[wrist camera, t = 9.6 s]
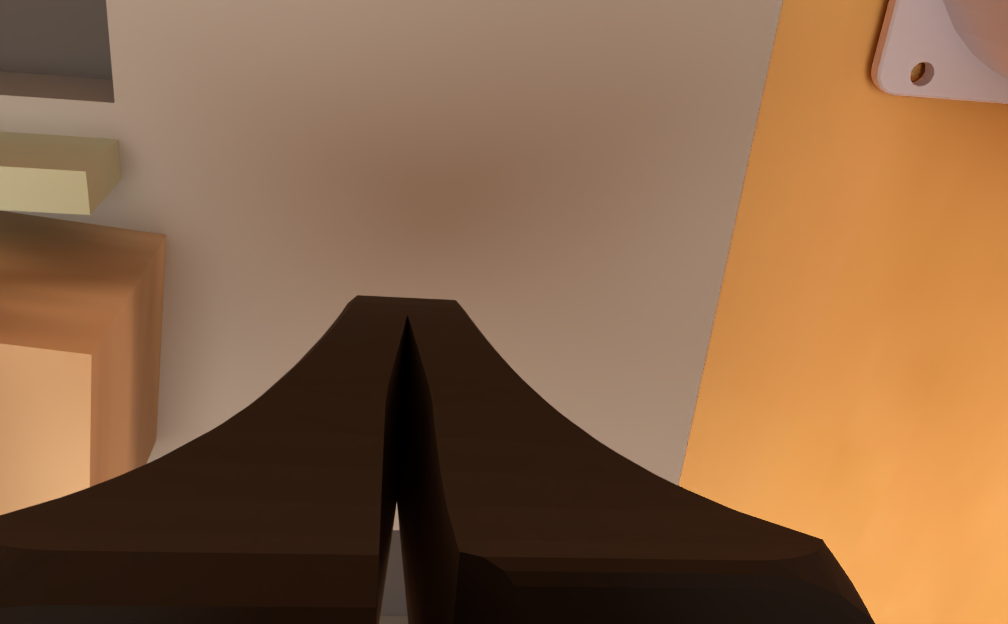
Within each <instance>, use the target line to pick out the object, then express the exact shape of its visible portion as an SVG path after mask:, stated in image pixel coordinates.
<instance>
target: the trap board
mask: <svg viewBox="0 0 1008 624" xmlns="http://www.w3.org/2000/svg"><path fill="white" fill-rule="evenodd" d="M782 3H783V0H0V211H7V212H13V213H20V214H27V215H34V216H41V217H48V218H54V219H61V220H68V221H75V222H82V223H89V224H95V225H102V226H109V227H116V228H123V229H130V230H136V231H143V232H150V233H157V234H164V235H166V255H165V276H164V296H163V316H162V336H161V356H160V376H159V396H158V417H157V437H156V442H155V445H154V447H153V449H152V452H151V454H150V456H149V459H148V461H147V463H150V462H152V461H154V460H156V459H158V458H160V457H162V456H164V455H166V454H168V453H170V452H171V451H173V450H175V449H177V448H179V447H181V446H183V445H184V444H186V443H188V442H190V441H192V440H194V439H196V438H197V437H199V436H201V435H203V434H205V433H207V432H209V431H211V430H212V429H214V428H216V427H217V426H219V425H220V424H222V423H224V422H225V421H227V420H228V419H230V418H231V417H233V416H234V415H235V414H237V413H238V412H240V411H241V410H243V409H244V408H246V407H247V406H249V405H250V404H251V403H252V402H254V401H255V400H256V399H258V398H259V397H260V396H261V395H262V394H264V393H265V392H266V391H267V390H268V389H269V388H270V387H271V386H273V385H274V384H275V383H276V382H277V381H278V380H279V379H280V378H281V377H283V376H284V375H285V374H286V373H287V372H288V371H289V370H290V369H291V368H293V367H294V366H295V365H296V364H297V363H298V362H299V361H300V360H301V359H302V357H303V356H304V355H305V354H306V353H307V352H308V351H309V350H310V349H311V348H312V347H313V346H314V345H315V344H316V343H317V341H318V340H319V339H320V338H321V337H322V336H323V335H324V334H325V332H326V331H327V330H328V329H329V328H330V326H331V325H332V324H333V323H334V321H335V320H336V319H337V318H338V316H339V315H340V314H341V312H342V311H343V309H344V308H345V307H346V305H347V303H348V302H350V301H351V300H352V299H353V298H354V297H356V296H357V295H363V296H384V297H405V298H426V299H446V300H456V301H457V302H458V303H459V304H460V305H461V307H462V308H463V309H464V310H465V311H466V313H467V314H468V315H469V317H470V318H471V320H472V321H473V322H474V324H475V325H476V326H477V327H478V329H479V330H480V331H481V333H482V334H483V335H484V336H485V338H486V339H487V340H488V341H489V343H490V344H491V345H492V346H493V347H494V349H495V350H496V351H497V352H498V353H499V354H500V356H501V357H502V358H503V359H504V360H505V361H506V362H507V363H508V364H509V366H510V367H511V368H512V369H513V370H514V371H515V372H516V373H517V374H518V375H519V376H520V377H521V378H522V379H523V380H524V381H525V382H526V383H527V384H528V385H529V386H530V387H531V388H532V389H534V390H535V391H536V392H537V393H538V394H539V395H540V396H541V397H542V398H543V399H544V400H545V401H547V402H548V403H549V404H550V405H551V406H552V407H554V408H555V409H556V410H557V411H559V412H560V413H561V414H562V415H563V416H565V417H566V418H568V419H569V420H570V421H572V422H573V423H574V424H576V425H577V426H578V427H580V428H581V429H583V430H584V431H585V432H587V433H588V434H589V435H591V436H592V437H594V438H595V439H596V440H598V441H599V442H601V443H603V444H604V445H606V446H607V447H609V448H610V449H612V450H614V451H615V452H617V453H618V454H620V455H622V456H624V457H625V458H627V459H629V460H631V461H632V462H634V463H636V464H638V465H640V466H641V467H643V468H645V469H647V470H648V471H650V472H652V473H654V474H656V475H657V476H659V477H662V478H664V479H666V480H668V481H670V482H672V483H674V484H676V485H679V480H680V476H681V471H682V466H683V462H684V457H685V453H686V448H687V443H688V439H689V434H690V429H691V425H692V420H693V415H694V411H695V406H696V402H697V397H698V392H699V388H700V383H701V378H702V374H703V369H704V364H705V360H706V355H707V351H708V346H709V341H710V337H711V332H712V327H713V323H714V318H715V314H716V309H717V304H718V300H719V295H720V290H721V286H722V281H723V276H724V272H725V267H726V263H727V258H728V253H729V249H730V244H731V239H732V235H733V230H734V225H735V221H736V216H737V212H738V207H739V202H740V198H741V193H742V188H743V184H744V179H745V174H746V170H747V165H748V161H749V156H750V151H751V147H752V142H753V137H754V133H755V128H756V124H757V119H758V114H759V110H760V105H761V100H762V96H763V91H764V86H765V82H766V77H767V73H768V68H769V63H770V59H771V54H772V49H773V45H774V40H775V35H776V31H777V26H778V22H779V17H780V12H781V8H782ZM147 463H146V464H147ZM379 624H408V616H407V605H406V595H405V584H404V574H403V563H402V553H401V542H400V531H399V520H398V509H397V505H396V512H395V519H394V525H393V532H392V539H391V546H390V553H389V560H388V567H387V573H386V580H385V587H384V594H383V601H382V607H381V614H380V621H379Z"/></svg>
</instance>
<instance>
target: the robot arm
mask: <svg viewBox="0 0 1008 624" xmlns="http://www.w3.org/2000/svg"><path fill="white" fill-rule="evenodd" d="M921 62H924V64H925V72H924V74H923V76H922V77H921V78H920V79H919V80H917V81H916V82H912V81H911V80H910V78H911V72H912V70H913V68H914V67H915V66H916V65H917V64H919V63H921ZM871 78H872V81H873V84H874V85H875V86H876V87H877V88H878V89H879V90H881V91H883V92H885V93H888V94H892V95H899V96H912V97H925V98H937V99H950V100H963V101H975V102H988V103H1001V104H1008V0H889V3H888V7H887V11H886V14H885V18H884V22H883V26H882V30H881V33H880V37H879V41H878V45H877V49H876V52H875V56H874V60H873V64H872V69H871ZM396 505H397V509H398V520H399V531H400V542H401V553H402V563H403V574H404V584H405V595H406V605H407V616H408V624H875V623H874V621H873V619H872V618H871V616H870V614H869V612H868V610H867V608H866V606H865V604H864V603H863V601H862V599H861V597H860V596H859V594H858V592H857V590H856V589H855V587H854V585H853V583H852V582H851V580H850V579H849V577H848V576H847V574H846V573H845V571H844V570H843V569H842V567H841V566H840V564H839V563H838V561H837V560H836V558H835V557H834V555H833V554H832V553H831V551H830V550H829V548H828V547H827V546H826V544H825V543H824V541H823V540H822V539H819V538H816V537H813V536H810V535H807V534H804V533H801V532H798V531H795V530H792V529H789V528H786V527H783V526H780V525H777V524H774V523H771V522H768V521H765V520H762V519H759V518H756V517H753V516H750V515H747V514H744V513H741V512H738V511H736V510H733V509H730V508H728V507H726V506H723V505H721V504H719V503H716V502H714V501H712V500H709V499H707V498H705V497H702V496H700V495H698V494H695V493H693V492H691V491H688V490H686V489H684V488H682V487H680V486H678V485H676V484H674V483H672V482H670V481H668V480H666V479H664V478H662V477H659V476H657V475H656V474H654V473H652V472H650V471H648V470H647V469H645V468H643V467H641V466H640V465H638V464H636V463H634V462H632V461H631V460H629V459H627V458H625V457H624V456H622V455H620V454H618V453H617V452H615V451H614V450H612V449H610V448H609V447H607V446H606V445H604V444H603V443H601V442H599V441H598V440H596V439H595V438H594V437H592V436H591V435H589V434H588V433H587V432H585V431H584V430H583V429H581V428H580V427H578V426H577V425H576V424H574V423H573V422H572V421H570V420H569V419H568V418H566V417H565V416H563V415H562V414H561V413H560V412H559V411H557V410H556V409H555V408H554V407H552V406H551V405H550V404H549V403H548V402H547V401H545V400H544V399H543V398H542V397H541V396H540V395H539V394H538V393H537V392H536V391H535V390H534V389H532V388H531V387H530V386H529V385H528V384H527V383H526V382H525V381H524V380H523V379H522V378H521V377H520V376H519V375H518V374H517V373H516V372H515V371H514V370H513V369H512V368H511V367H510V366H509V364H508V363H507V362H506V361H505V360H504V359H503V358H502V357H501V356H500V354H499V353H498V352H497V351H496V350H495V349H494V347H493V346H492V345H491V344H490V343H489V341H488V340H487V339H486V338H485V336H484V335H483V334H482V333H481V331H480V330H479V329H478V327H477V326H476V325H475V324H474V322H473V321H472V320H471V318H470V317H469V315H468V314H467V313H466V311H465V310H464V309H463V308H462V307H461V305H460V304H459V303H458V302H457V301H456V300H446V299H426V298H405V297H384V296H363V295H357V296H356V297H354V298H353V299H352V300H351V301H350V302H348V303H347V305H346V307H345V308H344V309H343V311H342V312H341V314H340V315H339V316H338V318H337V319H336V320H335V321H334V323H333V324H332V325H331V326H330V328H329V329H328V330H327V331H326V332H325V334H324V335H323V336H322V337H321V338H320V339H319V340H318V341H317V343H316V344H315V345H314V346H313V347H312V348H311V349H310V350H309V351H308V352H307V353H306V354H305V355H304V356H303V357H302V359H301V360H300V361H299V362H298V363H297V364H296V365H295V366H294V367H293V368H291V369H290V370H289V371H288V372H287V373H286V374H285V375H284V376H283V377H281V378H280V379H279V380H278V381H277V382H276V383H275V384H274V385H273V386H271V387H270V388H269V389H268V390H267V391H266V392H265V393H264V394H262V395H261V396H260V397H259V398H258V399H256V400H255V401H254V402H252V403H251V404H250V405H249V406H247V407H246V408H244V409H243V410H241V411H240V412H238V413H237V414H235V415H234V416H233V417H231V418H230V419H228V420H227V421H225V422H224V423H222V424H220V425H219V426H217V427H216V428H214V429H212V430H211V431H209V432H207V433H205V434H203V435H201V436H199V437H197V438H196V439H194V440H192V441H190V442H188V443H186V444H184V445H183V446H181V447H179V448H177V449H175V450H173V451H171V452H170V453H168V454H166V455H164V456H162V457H160V458H158V459H156V460H154V461H152V462H150V463H147V464H145V465H143V466H141V467H138V468H136V469H134V470H131V471H129V472H127V473H125V474H122V475H120V476H117V477H115V478H112V479H110V480H107V481H104V482H102V483H99V484H97V485H94V486H91V487H89V488H86V489H84V490H81V491H78V492H75V493H72V494H69V495H66V496H63V497H61V498H57V499H54V500H50V501H47V502H44V503H40V504H37V505H33V506H30V507H27V508H23V509H20V510H16V511H13V512H10V513H6V514H3V515H0V624H379V621H380V614H381V607H382V601H383V594H384V587H385V580H386V573H387V567H388V560H389V553H390V546H391V539H392V532H393V525H394V519H395V512H396Z"/></svg>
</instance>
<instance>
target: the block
mask: <svg viewBox="0 0 1008 624" xmlns="http://www.w3.org/2000/svg"><path fill="white" fill-rule="evenodd" d="M165 255H166V235H164V234H157V233H150V232H143V231H136V230H130V229H123V228H116V227H109V226H102V225H95V224H89V223H82V222H75V221H68V220H61V219H54V218H48V217H41V216H34V215H27V214H20V213H13V212H7V211H0V515H3V514H6V513H10V512H13V511H16V510H20V509H23V508H27V507H30V506H33V505H37V504H40V503H44V502H47V501H50V500H54V499H57V498H61V497H63V496H66V495H69V494H72V493H75V492H78V491H81V490H84V489H86V488H89V487H91V486H94V485H97V484H99V483H102V482H104V481H107V480H110V479H112V478H115V477H117V476H120V475H122V474H125V473H127V472H129V471H131V470H134V469H136V468H138V467H141V466H143V465H145V464H146V463H147V461H148V459H149V456H150V454H151V452H152V449H153V447H154V445H155V442H156V437H157V417H158V396H159V376H160V356H161V336H162V316H163V296H164V276H165Z"/></svg>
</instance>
